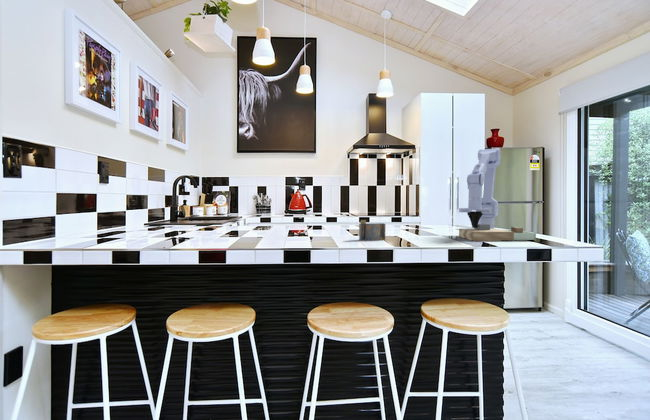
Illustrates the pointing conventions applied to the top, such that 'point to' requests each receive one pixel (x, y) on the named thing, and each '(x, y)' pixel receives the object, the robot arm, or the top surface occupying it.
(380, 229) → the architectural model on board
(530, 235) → the bin
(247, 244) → the top surface
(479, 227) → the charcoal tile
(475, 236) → the oak bench
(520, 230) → the walnut tile
